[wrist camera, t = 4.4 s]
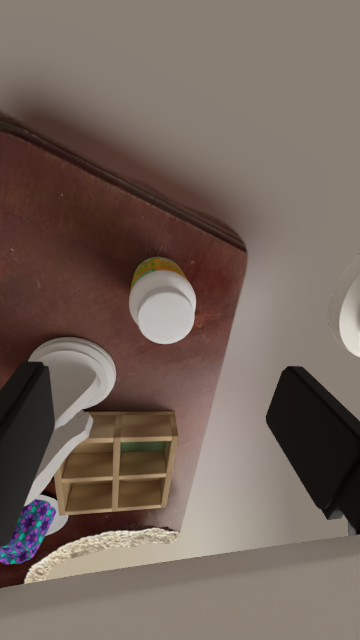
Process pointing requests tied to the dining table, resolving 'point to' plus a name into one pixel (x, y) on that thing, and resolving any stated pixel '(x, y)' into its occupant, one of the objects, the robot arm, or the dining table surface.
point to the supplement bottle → (162, 300)
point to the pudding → (32, 529)
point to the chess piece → (71, 397)
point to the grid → (119, 464)
